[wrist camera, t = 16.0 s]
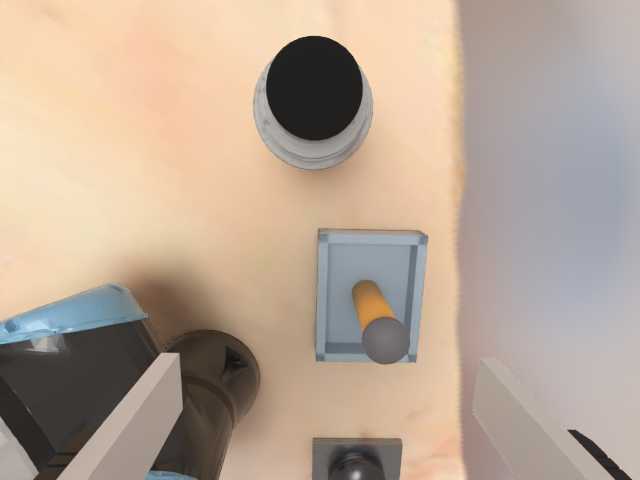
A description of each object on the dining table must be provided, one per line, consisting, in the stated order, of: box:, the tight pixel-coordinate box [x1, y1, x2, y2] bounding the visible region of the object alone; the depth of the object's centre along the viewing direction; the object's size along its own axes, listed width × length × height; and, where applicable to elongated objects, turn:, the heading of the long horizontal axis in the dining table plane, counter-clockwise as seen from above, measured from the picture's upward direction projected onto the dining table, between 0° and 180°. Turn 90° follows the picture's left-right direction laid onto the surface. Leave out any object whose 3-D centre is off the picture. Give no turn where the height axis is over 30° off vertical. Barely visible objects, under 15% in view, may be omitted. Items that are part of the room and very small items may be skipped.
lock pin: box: [352, 280, 410, 364], centre depth 41 cm, size 5×5×14 cm
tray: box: [316, 229, 428, 362], centre depth 47 cm, size 14×18×4 cm
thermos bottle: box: [253, 36, 373, 170], centre depth 30 cm, size 8×8×28 cm
